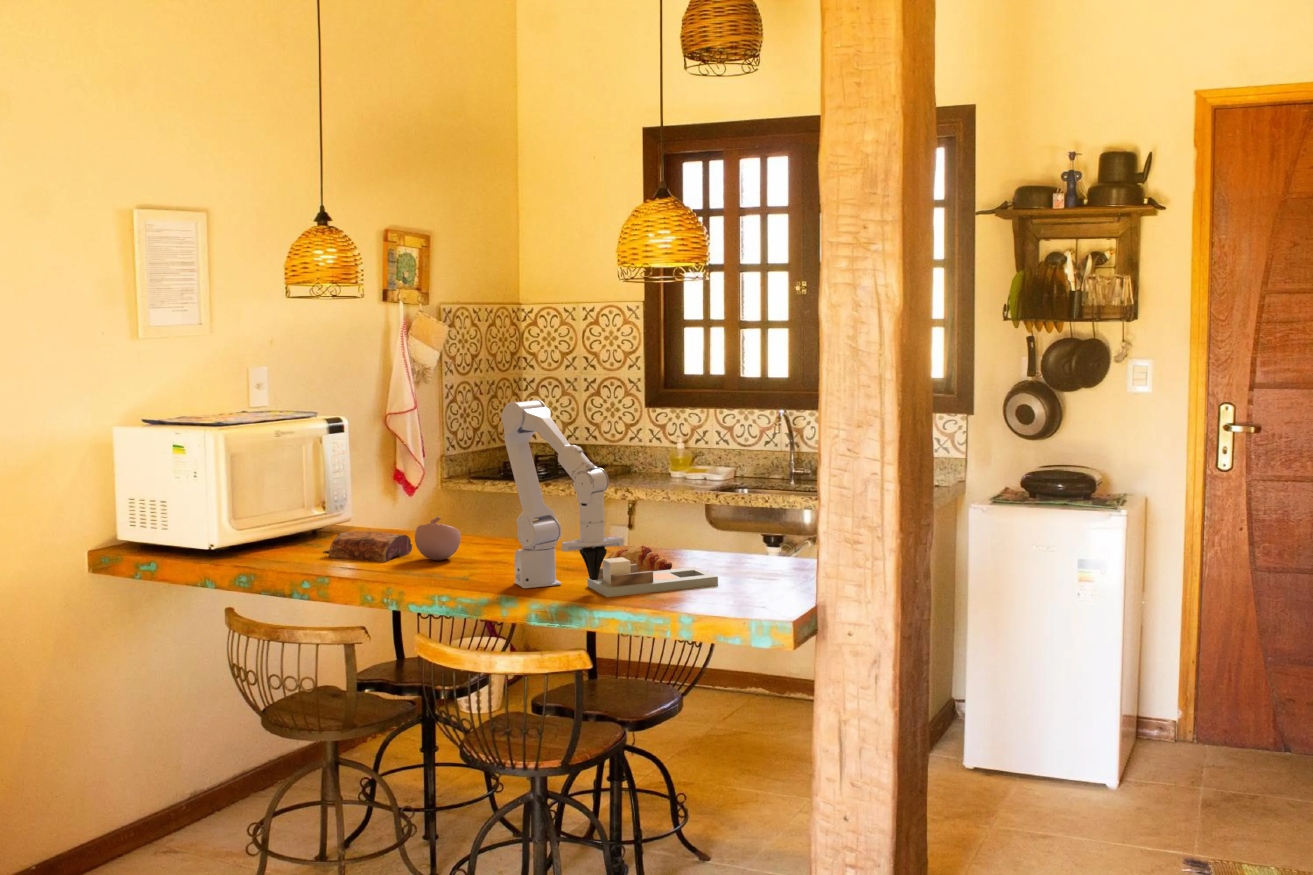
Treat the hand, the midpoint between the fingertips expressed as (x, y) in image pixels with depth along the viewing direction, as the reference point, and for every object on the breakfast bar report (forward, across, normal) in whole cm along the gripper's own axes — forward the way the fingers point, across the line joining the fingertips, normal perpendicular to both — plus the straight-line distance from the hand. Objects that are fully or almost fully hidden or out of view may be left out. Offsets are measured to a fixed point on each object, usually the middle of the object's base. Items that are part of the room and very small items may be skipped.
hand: (593, 579), depth 296 cm
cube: (+1, +6, 0) cm, 6 cm away
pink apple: (+3, -23, +56) cm, 61 cm away
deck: (+3, +15, 0) cm, 15 cm away
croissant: (+3, +18, +18) cm, 26 cm away
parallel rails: (+1, +8, 0) cm, 8 cm away
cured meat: (+4, -40, +75) cm, 85 cm away
